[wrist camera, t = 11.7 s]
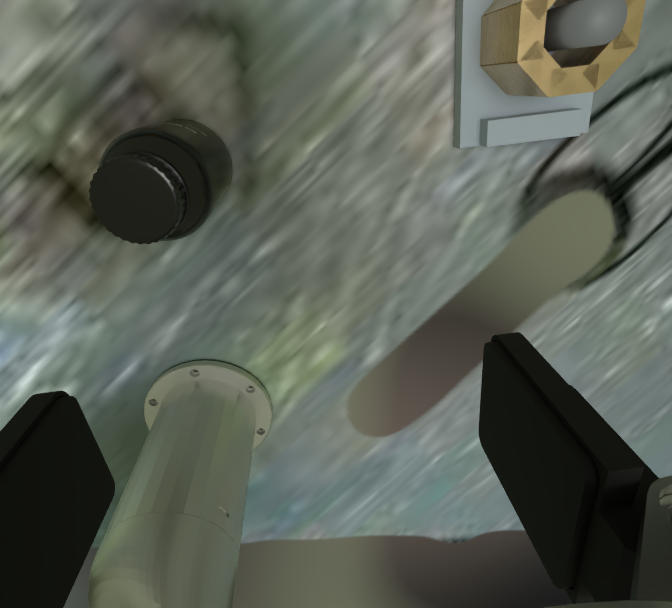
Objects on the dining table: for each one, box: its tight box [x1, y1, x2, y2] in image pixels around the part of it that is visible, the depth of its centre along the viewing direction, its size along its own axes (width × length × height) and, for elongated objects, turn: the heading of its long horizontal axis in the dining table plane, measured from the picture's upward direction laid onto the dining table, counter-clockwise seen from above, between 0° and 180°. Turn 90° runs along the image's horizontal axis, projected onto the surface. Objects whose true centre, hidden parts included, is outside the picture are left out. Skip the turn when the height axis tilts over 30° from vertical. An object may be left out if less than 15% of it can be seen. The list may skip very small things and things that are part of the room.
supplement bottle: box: [89, 119, 232, 244], centre depth 29 cm, size 7×7×12 cm
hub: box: [480, 0, 646, 97], centre depth 28 cm, size 7×7×6 cm
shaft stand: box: [454, 0, 627, 148], centre depth 27 cm, size 14×10×10 cm
